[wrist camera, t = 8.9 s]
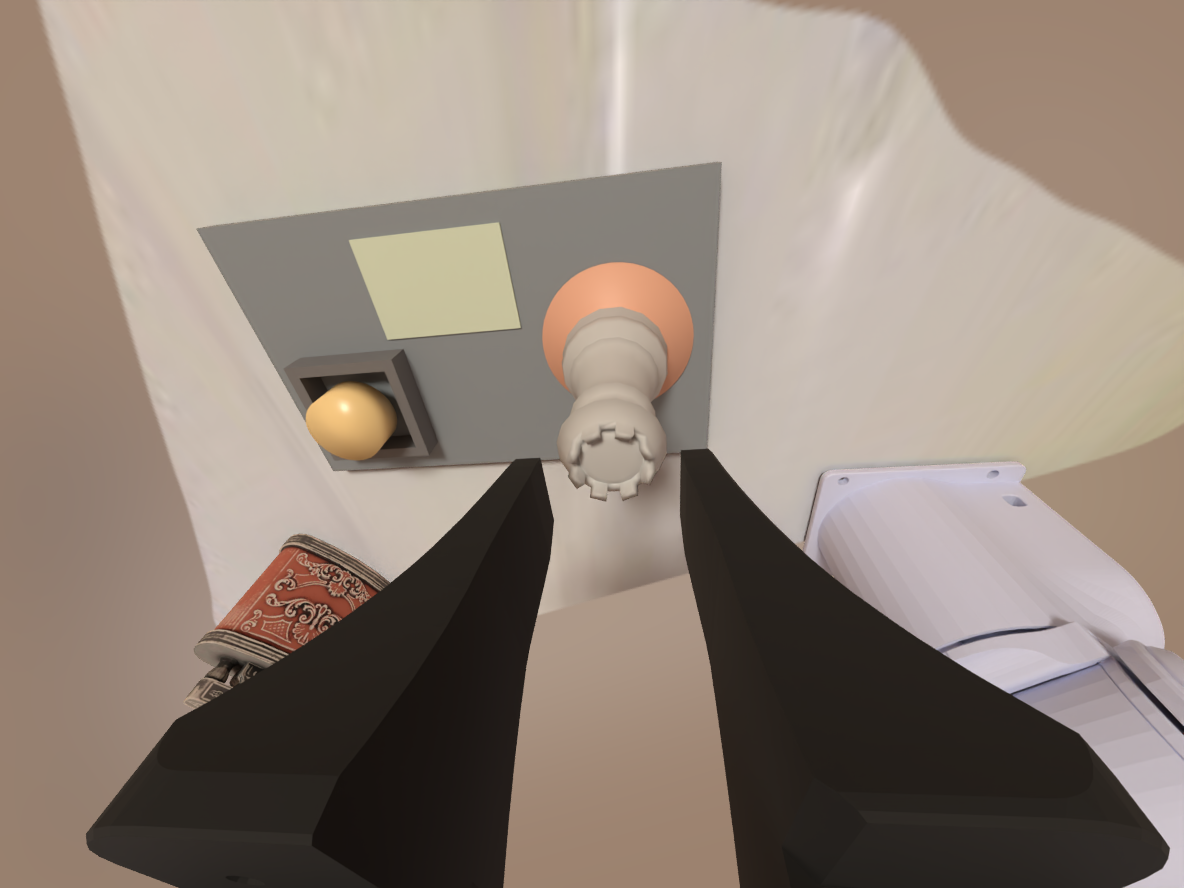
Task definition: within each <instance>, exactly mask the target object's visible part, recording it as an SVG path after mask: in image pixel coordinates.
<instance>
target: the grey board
mask: <svg viewBox="0 0 1184 888" xmlns="http://www.w3.org/2000/svg"><path fill="white" fill-rule="evenodd" d="M721 165H722V162H714V163H706V164H698V165H690V166H682V167H674V168H666V169H658V170H651V171H643V172H635V173H627V174H619V175H611V176H603V177H595V178H587V179H579V180H571V181H564V182H556V183H548V184H540V185H532V186H524V187H516V188H508V189H500V190H492V191H484V192H477V193H469V194H461V195H453V196H445V197H437V198H429V199H421V200H413V201H405V202H397V203H390V204H382V205H374V206H366V207H358V208H350V209H342V210H334V211H326V212H318V213H310V214H303V215H295V216H287V217H279V218H271V219H263V220H255V221H247V222H239V223H231V224H223V225H216V226H209V227H203V228H198V229H197V231H198V233H199V234H200V236H201V238H202V240H203V242H204V243H205V245H206V247H207V249H208V250H209V252H210V254H211V256H212V257H213V259H214V261H215V263H216V264H217V266H218V268H219V270H220V272H221V273H222V275H223V277H224V279H225V280H226V282H227V284H228V286H229V287H230V289H231V291H232V293H233V295H234V296H235V298H236V300H237V302H238V303H239V305H240V307H241V309H242V310H243V312H244V314H245V316H246V318H247V319H248V321H249V323H250V325H251V326H252V328H253V330H254V332H255V333H256V335H257V337H258V339H259V340H260V342H261V344H262V346H263V348H264V349H265V351H266V353H267V355H268V356H269V358H270V360H271V362H272V363H273V365H274V367H275V369H276V371H277V372H278V374H279V376H280V378H281V379H282V381H283V383H284V385H285V386H286V388H287V390H288V392H289V393H290V395H291V397H292V399H293V401H294V402H295V404H296V406H297V408H298V409H299V411H300V413H301V415H302V416H303V418H304V420H305V422H306V413H307V410H308V408H309V407H310V406H311V404H313V403H314V402H315V401H316V400H318V399H319V398H320V397H321V396H323V395H324V394H325V393H326V392H327V391H329V390H330V389H331V388H332V387H334V386H335V385H337V384H339V383H341V382H346V381H356V382H361V383H364V384H367V385H369V386H372V387H373V388H375V389H377V390H378V391H380V392H381V393H382V394H383V395H384V396H385V397H386V398H387V399H388V400H389V401H390V402H391V404H392V405H393V407H394V409H395V412H396V415H397V426H396V429H395V431H394V432H393V434H392V435H391V436H390V437H389V439H388V440H387V441H386V442H385V443H384V445H383V446H382V447H381V448H380V450H379V451H378V452H377V453H376V454H375V455H374V456H372V457H371V458H368V459H365V460H348V459H344V458H341V457H338V456H336V455H334V454H332V453H330V452H328V451H327V450H325V449H324V448H323V447H322V446H320V445H319V444H318V445H319V447H320V448H321V450H322V452H323V454H324V455H325V457H326V459H327V461H328V462H329V464H330V466H331V468H332V469H333V471H346V470H365V469H384V468H402V467H421V466H440V465H459V464H477V463H496V462H513V461H514V460H515V459H525V458H540V459H541V460H552V459H560V458H559V453H558V447H557V439H558V435H559V432H560V429H561V425H562V424H563V423H564V422H565V421H566V419H567V418H568V417H569V416H570V413H571V410H572V407H573V403H574V402H575V401H576V400H575V398H574V397H573V395H572V394H571V392H570V391H569V389H568V387H567V386H566V384H565V380H564V374H563V368H562V360H563V355H562V354H563V350H564V347H565V343H566V339H567V335H568V334H569V333H570V331H571V330H572V329H573V328H574V326H575V325H576V324H577V323H578V321H579V320H580V319H582V318H583V317H585V316H587V315H589V314H591V313H593V312H595V311H597V310H598V309H604V308H615V307H623V308H627V309H630V310H633V311H636V312H640V313H642V314H644V315H645V316H646V317H647V318H648V319H649V320H651V321H652V322H653V323H654V324H655V325H656V326H658V327H659V329H660V332H661V334H662V336H663V338H664V340H665V342H666V344H667V370H668V374H667V376H666V379H665V381H664V383H663V386H662V388H661V390H660V393H659V395H658V396H657V397H656V398H655V399H654V400H653V401H652V402H651V404H652V406H653V408H654V410H655V416H656V418H657V419H658V421H659V423H660V425H661V426H662V428H663V430H664V432H665V434H666V442H667V453H681V450H692V449H707V440H708V420H709V400H710V381H711V361H712V342H713V322H714V302H715V283H716V263H717V244H718V224H719V205H720V185H721Z"/></svg>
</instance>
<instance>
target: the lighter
mask: <svg viewBox="0 0 1184 888" xmlns="http://www.w3.org/2000/svg"><path fill="white" fill-rule="evenodd" d="M389 584H390V582H388V581H387V580H386V579H385V578H383V577H382V576H381V575H380V574H378V573H377V572H376V571H374V570H373V569H371V568H370V567H368V566H367V565H365V564H364V563H362V562H361V561H359V560H358V559H356V558H354V557H352V556H350V555H349V554H347V553H345V552H343V551H341V550H340V549H338V548H336V547H334V546H332V545H330V544H328V543H325V542H323V541H321V540H319V539H317V538H315V537H313V536H310V535H307V534H295V535H293V536H291V537H290V538H289V539H288V540H287V541H286V542H285V543H284V545H283V546H282V547H281V548H280V550H279V555H278V556H277V557H276V558H275V560H274V561H273V562H272V563H271V564H270V565H269V567H268V568H267V569H266V570H265V571H264V572H263V574H262V575H261V576H260V577H259V578H258V579H257V581H256V582H255V583H254V584H253V585H252V586H251V587H250V589H249V590H248V591H247V592H246V593H245V594H244V596H243V597H242V598H241V599H240V600H239V601H238V603H237V604H236V605H235V606H234V607H233V608H232V610H231V611H230V612H229V613H228V614H227V615H226V617H225V618H224V619H223V620H222V621H221V622H220V624H219V625H218V626H217V627H216V628H215V629H214V630H211V631H209V632H207V633H206V635H205V636H204V637H203V638H202V639H201V640H200V641H199V642H198V644H197V645H196V646H195V648H194V653H195V654H196V655H197V657H198V658H199V659H201V660H203V661H204V662H206V663H208V664H210V665H211V666H214V667H215V668H213V669H212V670H211V671H209V672H208V673H207V675H206V676H205V677H204V678H203V679H201V680H200V681H199V683H198V684H197V685H196V686H195V687H194V689H193V690H192V691H191V692H190V694H189V695H188V696H187V697H186V699H185V700H184V702H183V703H184V704H185V705H187V706H189V707H192V708H194V709H196V708H198V707H200V706H202V705H203V704H205V703H207V702H209V701H210V700H212V699H214V698H216V697H217V696H219V695H221V694H223V693H224V692H226V691H228V690H230V689H231V688H233V687H235V686H237V685H238V684H240V683H242V682H244V681H245V680H247V679H249V678H251V677H252V676H254V675H256V674H258V673H259V672H261V671H263V670H264V669H266V668H268V667H269V666H271V665H273V664H274V663H276V662H277V661H279V660H281V659H282V658H284V657H285V656H287V655H289V654H290V653H292V652H293V651H295V650H296V649H298V648H300V647H301V646H303V645H304V644H306V643H307V642H309V641H310V640H312V639H313V638H315V637H316V636H318V635H319V634H321V633H322V632H324V631H325V630H327V629H328V628H330V627H331V626H333V625H334V624H336V623H337V622H339V621H340V620H342V619H343V618H344V617H346V616H347V615H348V614H350V613H351V612H352V611H354V610H355V609H356V608H358V607H359V606H361V605H362V604H363V603H365V602H366V601H367V600H369V599H370V598H371V597H373V596H374V595H375V594H377V593H378V592H380V591H381V590H382V589H384V588H385V587H386V586H387V585H389ZM229 675H230V676H233V677H232V679H231V681H230V686H228V685H226V684H224V683H225V682H226V680H227V678H228V676H229Z"/></svg>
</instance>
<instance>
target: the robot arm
mask: <svg viewBox="0 0 1184 888" xmlns="http://www.w3.org/2000/svg"><path fill="white" fill-rule="evenodd" d="M1025 472H1026V467H1025V466H1024V465H1022V464H1021V463H1019V462H1016V461H1009V462H988V463H967V464H946V465H925V466H903V467H882V468H861V469H840V470H829V471H827V472H825V473H823V474H822V476H821V478H820V482H819V486H818V490H817V494H816V498H815V502H814V506H813V510H812V514H811V518H810V523H809V527H808V531H807V535H806V539H805V543H804V548H803V551H802V550H801V549H800V548H799V547H797V546H796V545H795V544H794V543H793V542H792V541H791V540H790V539H789V538H788V537H787V536H786V535H785V534H784V533H783V532H782V531H781V530H780V529H779V528H778V527H776V526H775V525H774V524H773V523H772V522H771V521H770V520H769V518H768V517H767V516H766V515H765V514H764V513H763V512H762V511H761V510H760V509H759V508H758V507H757V506H756V505H755V504H754V502H753V501H752V500H751V499H750V498H749V497H748V496H747V495H746V494H745V493H744V491H743V490H742V489H741V488H740V487H739V486H738V485H737V483H736V482H735V481H734V480H733V478H732V477H731V476H730V475H729V474H728V472H727V471H726V470H725V469H724V467H723V466H722V465H721V463H720V462H719V461H718V459H717V458H716V457H715V455H714V454H713V453H712V452H711V451H710V450H709V449H692V450H681V479H680V518H681V527H682V535H683V543H684V551H685V557H686V561H687V565H688V570H689V574H690V578H691V582H692V586H693V591H694V595H695V599H696V603H697V607H698V612H699V616H700V620H701V624H702V628H703V632H704V636H705V640H706V644H707V650H708V655H709V660H710V665H711V672H712V679H713V686H714V693H715V700H716V706H717V713H718V720H719V728H720V735H721V742H722V749H723V756H724V764H725V772H726V779H727V786H728V795H729V802H730V810H731V818H732V825H733V832H734V841H735V849H736V858H737V866H738V874H739V882H740V888H1184V660H1183V659H1182V658H1180V657H1179V656H1178V655H1177V654H1175V653H1174V652H1172V651H1168V650H1165V649H1164V645H1165V638H1164V631H1163V627H1162V624H1161V622H1160V619H1159V616H1158V614H1157V612H1156V610H1155V608H1154V606H1153V604H1152V602H1151V600H1150V599H1149V597H1148V596H1147V594H1146V593H1145V591H1144V590H1143V589H1142V587H1141V586H1140V585H1139V584H1138V582H1137V581H1136V580H1135V579H1134V578H1133V577H1132V576H1131V575H1130V574H1129V573H1128V572H1127V571H1126V570H1125V569H1124V568H1122V566H1120V565H1119V564H1118V563H1117V562H1116V561H1114V560H1113V559H1112V558H1111V557H1109V556H1108V555H1107V554H1106V553H1105V552H1104V551H1102V550H1101V549H1100V548H1099V547H1098V546H1096V545H1095V544H1094V543H1093V542H1091V541H1090V540H1089V539H1088V538H1087V537H1085V536H1084V535H1083V534H1082V533H1081V532H1079V531H1078V530H1077V529H1076V528H1075V527H1073V526H1072V525H1071V524H1070V523H1069V522H1067V521H1066V520H1065V519H1064V518H1062V517H1061V516H1060V515H1059V514H1058V513H1056V512H1055V511H1054V510H1053V509H1052V508H1050V507H1049V506H1048V505H1047V504H1046V503H1044V502H1043V501H1042V500H1040V499H1039V498H1038V497H1037V496H1036V495H1035V494H1033V493H1032V492H1031V491H1030V490H1028V489H1027V488H1026V487H1025V486H1024V485H1022V484H1021V483H1020V481H1021V479H1022V478H1023V476H1024V474H1025ZM843 477H845V478H844V479H842V480H839V479H841V478H843ZM553 525H554V518H553V514H552V509H551V505H550V500H549V495H548V491H547V486H546V482H545V477H544V473H543V468H542V463H541V459H540V458H525V459H515V460H514V461H513V462H512V463H511V465H510V466H509V467H508V468H507V469H506V470H505V471H504V472H503V473H502V474H501V476H500V477H499V478H498V479H497V480H496V481H495V482H494V484H493V485H492V486H491V487H490V488H489V489H488V490H487V491H486V493H485V494H484V495H483V496H482V497H481V498H480V499H479V500H478V501H477V502H476V504H475V505H474V506H473V507H472V508H471V509H470V510H469V511H468V512H467V513H466V514H465V515H464V516H463V518H462V519H461V520H460V521H458V522H457V523H456V524H455V525H454V526H453V527H452V528H451V529H450V530H449V531H448V532H447V533H446V534H445V535H444V536H443V537H442V538H441V539H440V540H439V541H438V542H437V543H436V544H435V545H434V546H433V547H432V548H431V549H430V550H429V551H428V552H427V553H425V554H424V555H423V556H422V557H421V558H420V559H419V560H418V561H416V562H415V563H414V564H413V565H412V566H411V567H409V568H408V569H407V570H406V571H404V572H403V573H402V574H401V575H400V576H398V577H397V578H396V579H395V580H394V581H392V582H391V583H390V584H389V585H387V586H386V587H385V588H384V589H382V590H381V591H380V592H378V593H377V594H375V595H374V596H373V597H371V598H370V599H369V600H367V601H366V602H365V603H363V604H362V605H361V606H359V607H358V608H356V609H355V610H354V611H352V612H351V613H350V614H348V615H347V616H346V617H344V618H343V619H342V620H340V621H339V622H337V623H336V624H334V625H333V626H331V627H330V628H328V629H327V630H325V631H324V632H322V633H321V634H319V635H318V636H316V637H315V638H313V639H312V640H310V641H309V642H307V643H306V644H304V645H303V646H301V647H300V648H298V649H296V650H295V651H293V652H292V653H290V654H289V655H287V656H285V657H284V658H282V659H281V660H279V661H277V662H276V663H274V664H273V665H271V666H269V667H268V668H266V669H264V670H263V671H261V672H259V673H258V674H256V675H254V676H252V677H251V678H249V679H247V680H245V681H244V682H242V683H240V684H238V685H237V686H235V687H233V688H231V689H230V690H228V691H226V692H224V693H223V694H221V695H219V696H217V697H216V698H214V699H212V700H210V701H209V702H207V703H205V704H203V705H202V706H200V707H198V708H196V709H195V710H193V711H191V712H189V713H187V714H186V715H184V716H182V717H180V718H178V719H177V720H175V722H174V723H173V724H172V725H171V727H170V728H169V729H168V730H167V732H166V733H165V734H164V736H163V737H162V738H161V740H160V741H159V742H158V743H157V744H156V746H155V747H154V748H153V749H152V751H151V752H150V753H149V755H148V756H147V757H146V758H145V760H144V761H143V762H142V763H141V765H140V766H139V767H138V769H137V770H136V771H135V772H134V774H133V775H132V776H131V777H130V779H129V780H128V781H127V782H126V784H125V785H124V786H123V788H122V789H121V790H120V791H119V793H118V794H117V795H116V796H115V798H114V799H113V800H112V802H111V803H110V804H109V805H108V807H107V808H106V809H105V810H104V812H103V813H102V814H101V815H100V817H99V818H98V819H97V821H96V822H95V823H94V824H93V826H92V827H91V828H90V830H89V831H88V832H87V833H86V839H87V845H88V848H89V850H90V851H92V852H93V853H95V854H96V855H98V856H99V857H101V858H104V859H106V860H108V861H110V862H113V863H115V864H117V865H120V866H123V867H125V868H128V869H131V870H133V871H136V872H138V873H141V874H144V875H146V876H149V877H152V878H155V879H157V880H160V881H162V882H165V883H168V884H170V885H173V886H176V887H178V888H503V883H504V871H505V859H506V847H507V835H508V822H509V811H510V802H511V792H512V782H513V772H514V762H515V753H516V745H517V736H518V727H519V719H520V710H521V702H522V695H523V687H524V680H525V672H526V665H527V660H528V654H529V649H530V644H531V640H532V635H533V631H534V626H535V622H536V618H537V614H538V609H539V605H540V601H541V596H542V592H543V588H544V583H545V579H546V574H547V570H548V565H549V561H550V555H551V546H552V536H553ZM831 575H833V576H834V578H833V577H832V576H831Z"/></svg>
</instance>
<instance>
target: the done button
mask: <svg viewBox="0 0 1184 888" xmlns="http://www.w3.org/2000/svg"><path fill="white" fill-rule="evenodd" d="M306 424H307V427H308V430H309V432H310V434H311V435H312V437H313V438H314V439H315V441H316V442H317V443H318V444H319V445H320V446H322V447H323V448H324V449H325V450H327V451H328V452H330V453H332V454H334V455H336V456H338V457H341V458H344V459H348V460H365V459H368V458H371V457H372V456H374V455H375V454H376V453H377V452H378V451H379V450H380V448H381V447H382V446H383V445H384V443H385V442H386V441H387V440H388V439H389V437H390V436H391V435H392V434H393V432H394V431H395V429H396V426H397V415H396V412H395V409H394V407H393V405H392V404H391V402H390V401H389V400H388V399H387V398H386V397H385V396H384V395H383V394H382V393H381V392H380V391H378V390H377V389H375V388H373V387H372V386H369V385H367V384H364V383H361V382H356V381H346V382H341V383H339V384H337V385H335V386H334V387H332V388H331V389H330V390H329V391H327V392H326V393H325V394H324V395H323V396H321V397H320V398H319V399H318V400H316V401H315V402H314V403H313V404H311V406H310V407H309V408H308V410H307V413H306Z"/></svg>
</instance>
